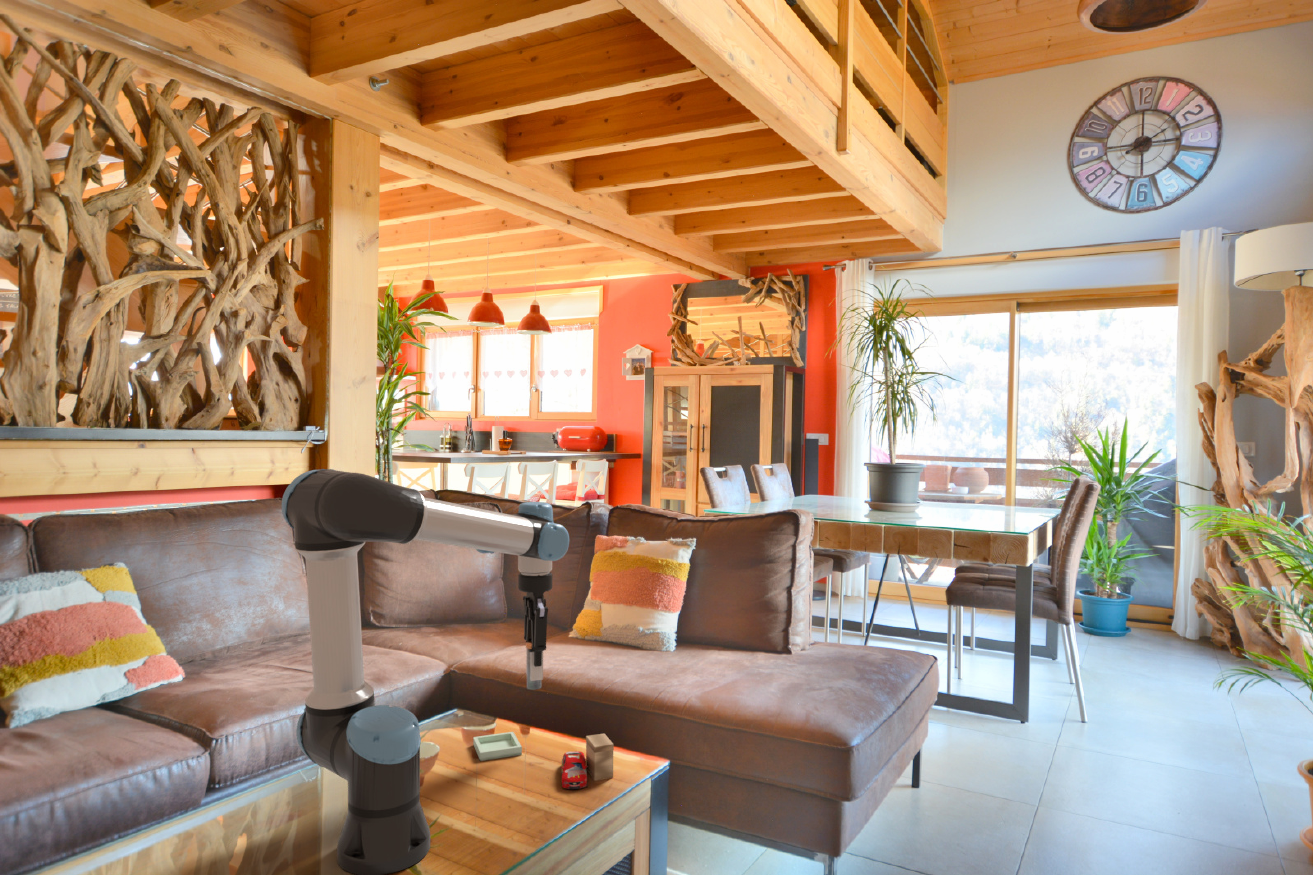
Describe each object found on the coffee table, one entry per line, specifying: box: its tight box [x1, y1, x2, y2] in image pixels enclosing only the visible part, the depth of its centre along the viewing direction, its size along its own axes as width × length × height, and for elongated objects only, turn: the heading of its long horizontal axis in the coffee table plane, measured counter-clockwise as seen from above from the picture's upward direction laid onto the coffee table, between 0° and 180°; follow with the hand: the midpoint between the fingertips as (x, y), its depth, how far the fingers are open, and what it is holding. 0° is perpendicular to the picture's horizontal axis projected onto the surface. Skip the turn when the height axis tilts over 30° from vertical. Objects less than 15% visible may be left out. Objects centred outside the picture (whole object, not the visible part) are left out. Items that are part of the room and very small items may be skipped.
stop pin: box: [525, 641, 542, 691], centre depth 183 cm, size 4×4×10 cm
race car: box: [560, 750, 588, 790], centre depth 170 cm, size 13×5×4 cm, turn 5°
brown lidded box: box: [585, 733, 615, 781], centre depth 172 cm, size 4×6×7 cm
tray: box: [472, 731, 523, 762], centre depth 183 cm, size 9×9×2 cm
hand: (534, 677), depth 183 cm, fingers closed on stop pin, 3 cm apart
